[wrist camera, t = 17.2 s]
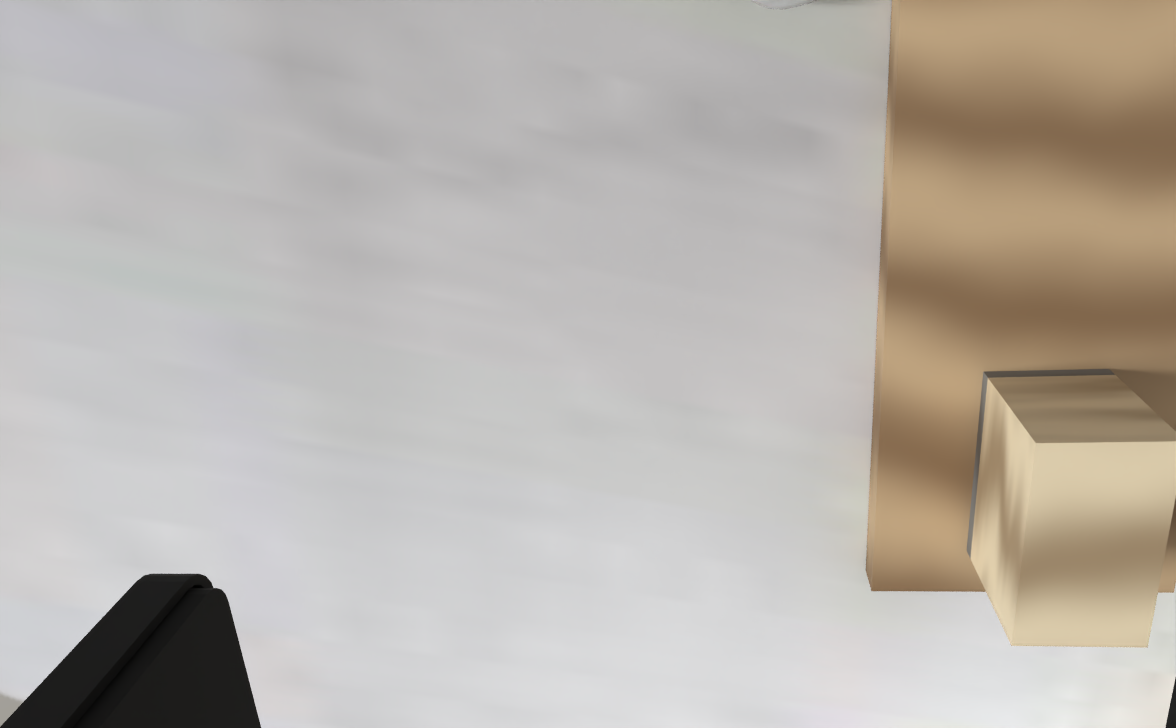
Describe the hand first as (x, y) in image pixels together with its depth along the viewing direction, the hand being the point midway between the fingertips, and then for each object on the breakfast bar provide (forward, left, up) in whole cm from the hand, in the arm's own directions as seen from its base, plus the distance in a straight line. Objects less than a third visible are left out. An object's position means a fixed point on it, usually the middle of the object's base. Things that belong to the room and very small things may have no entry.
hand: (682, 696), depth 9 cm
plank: (+5, +13, -28) cm, 32 cm away
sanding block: (+12, +13, -27) cm, 32 cm away
